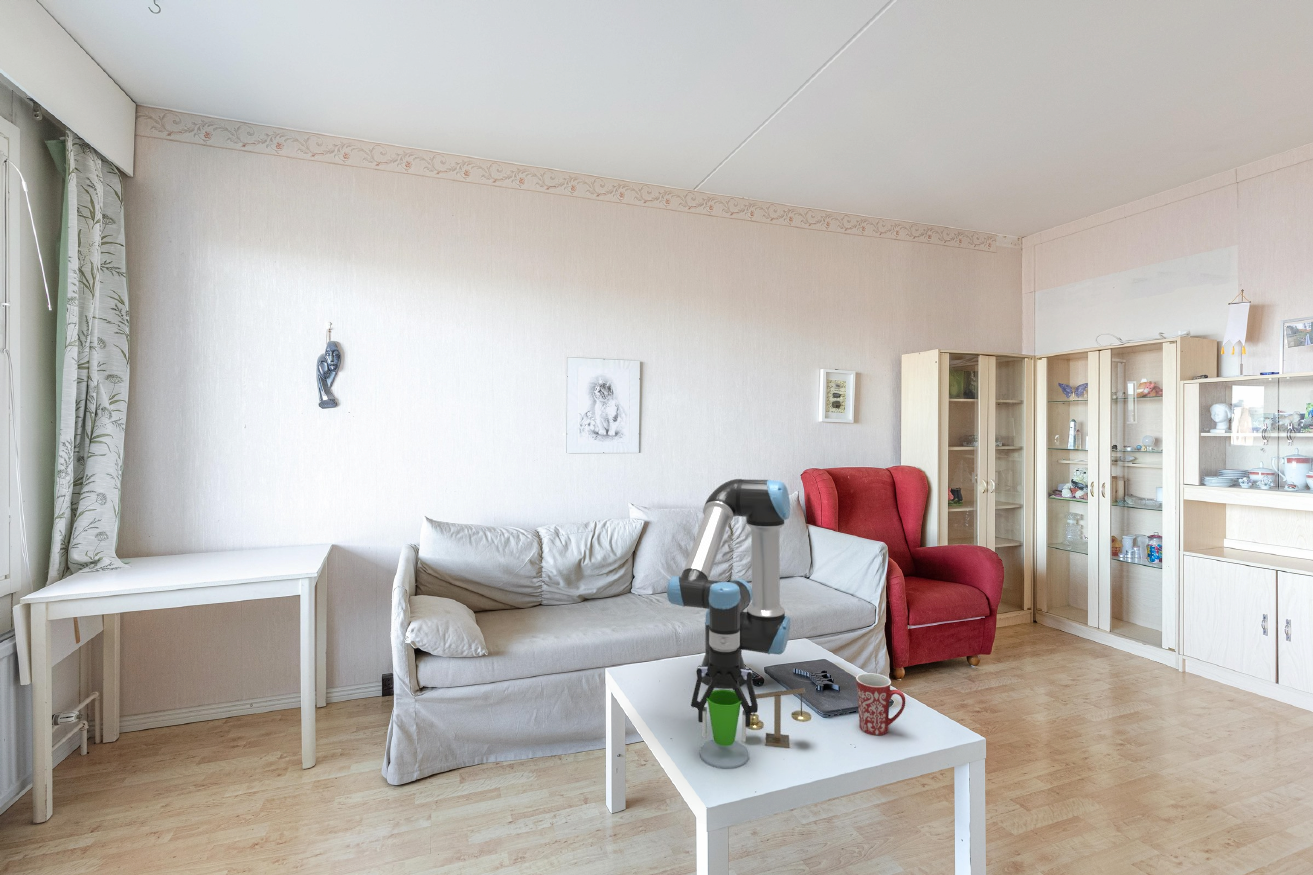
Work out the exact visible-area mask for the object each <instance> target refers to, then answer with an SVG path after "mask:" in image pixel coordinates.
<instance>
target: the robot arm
mask: <svg viewBox="0 0 1313 875" xmlns="http://www.w3.org/2000/svg"><path fill="white" fill-rule="evenodd" d="M708 496H709V497H708V498H706V501H705V504H704V506H703V508H702V513H703V518H702V521H701V523H700V526H699V528H698V531H697V533H696V535H695V539H694V541H693V543H692V547H691V549H690V552H689V554H688V557H687V560H686V563H685V565H684V568H683V571H682V573H681V575H680V576H679V575H677V576H672V577H671V578H669V581H668V583H667V588H666V597H667V600H668V602H669V603H670V604H672V605H675V606H679V607H680V606H681V607H689V608H690V607H691V608H697V609H698V608H700V609H706V611H705V622H704V629H705V630H704V632H705V634H704V635H705V636H704V637H705V639H704V640H705V642H704V643H705V645H704V647H705V653H704V657H703V660H702V662H701V665H698V666H697V668H696V671H695V672H696V683H695V686H694V691H693V695H692V698H691V702H690V707H691V708H696V709H697V711H698V712H697V713H698V714H697V715H698V716H697V721H698V723H701V724H702V738H704V739H705V738H706V737H707V733H708V731H707V730H708V727H707V726H708V722H707V721H708V717H707V714H708V713H707V710H708V708H707V707H708V706H706V704H707V703H708V701H707V699H706V698H708V699H709V697H710V695H711V693H712V691H714V690H715V688H723V689H729V688H731V689H732V691H735V693H736V695H737V697H738V699H739V701H742V702H741V705H740V706H741V707H742V715H741V716H742V718H741V726H742V728H741V730H742V731H741V734H742V735H741V739H742V740H741V742H746V736H747V734H746V732H747V728H746V727H750V715H751V714H753V713H755V714H758V710H759V705H758V701H757V700H758V699H756V696H755V694H756V692H755V688H754V683H753V679H752V678H753V669H751V668H749V669H747V668H746V667H747V666H746V664H745V661H744V659H743V655H742V651H748V652H755V653H762V654H767V655H782V654H783V653H784V652H785V650H786V648H787V645H788V640H789V638H790V637H789V636H790V631H791V630H790V629H791V618H790V617H789V616H788V615H786V611H785V608H784V607H783V606H782V605H781V604H780V602H781V601H780V596H781V595H780V587H781V586H780V584H781V583H780V574H781V573H780V570H781V569H780V563H781V562H780V554H781V553H780V530H781V529H782V527H784V525H785V521H786V520H788V519H789V518H790V516H791V501H790V495H789V491H788V488H787V486H786V484H785V483H784V482H783V481H781V480H772V479H746V478H745V479H742V478H735V479H730V480H728V481H725V482H724V483H722V484H720V486H718V487H716V488H715V489H714V491H712V493H711V494H709V495H708ZM735 517H740V518H741V517H742V518H744V517H745V518H746V522H745V523H746V525H747V526H748V527H749V528H750V529H751V536H750V538H751V585H750V584H749V583H748V582H747V581H746V580H743V579H741V578H739V579H738V578H737V579H733V580H730V581H722V580H711V579H710V577H711V574H712V572H713V567H714V565H715V562H716V559H717V556H718V553H719V550H720V548H721V545H722V541H723V539H724V536H725V533H726V530H727V528H728V525H729V524H731V523H732V522H733V519H734V518H735ZM750 603H751V604H750ZM745 610H746V611H745ZM702 683H704V684H706V685H708V686H707V688H706V689H705V692H704V693H703V695H702V697H701V698H700V701H699V700H698V698H699V693H700V689H701V685H702ZM744 684H746V688H747V692H748V696H749V701H748V699H747V697H746V696H745V694H744V691H743V689H742V687H741V686H743V685H744ZM749 702H750V704H751V705H750V704H749Z"/></svg>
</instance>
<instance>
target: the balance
mask: <svg viewBox="0 0 1313 875" xmlns="http://www.w3.org/2000/svg"><path fill="white" fill-rule="evenodd" d="M805 693H806V688H805V687H801V688H795V689H793V688H792V689H787V690H786V689H785V690H778V691H771V692H762V693H755V696H756V700H758V699H759V700H760V699H766V698H774V700H773V701H774V704H773V706H774V709H773V710H774V715H773V716H774V722H773V723H774V725H773V726H774V729H773V732H774V733H770V732H765V746H766V747H774V748H775V747H776V748H786V749H790V735H789V734H783V733H781V731H782V730H781V729H782V726H781V723H782V722H781V718H782V712H781V711H782V708H781V705H782V703H781V702H782V699H781V698H782V696H792V695H798V694H800V710H794V711H793V712H791V718H792V719H793V720H795V721H796V722H802V723H805V722H809V721H811V720H812V714H811V713H810V712H807V711H805V710H803V694H805ZM759 717H760V716H759V715H758V713H751V715H750V727H746V729H748V730H752V731H759V730H760V731H761V730H762V729H764V725H765V724H764V722H763V721H762V720H760V718H759Z"/></svg>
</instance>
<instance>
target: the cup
mask: <svg viewBox="0 0 1313 875" xmlns="http://www.w3.org/2000/svg"><path fill="white" fill-rule="evenodd" d="M706 699H707V705H708V706H707V707H708V712H709V717H710V724H711V732H712V740H714V741H715V743H716V744H718V745H721V746H729V745H732V744H733V743H734V741H736V735H737V730H738V723H739V716H740V711H741V706H742V705H741V702H742V701H739V699H738V697H737V695H736V693H735V691H734V690H733V689H732V690H731V689H726V688H723V689H713V691H712V693H711V695H710V697H709V699H708V698H706Z"/></svg>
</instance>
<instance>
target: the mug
mask: <svg viewBox="0 0 1313 875" xmlns="http://www.w3.org/2000/svg"><path fill="white" fill-rule="evenodd" d="M855 680H856V690H857V707H858V709H857V710H858V722H859V725H858V726H859V729H860V730H861V731H862V732H864V733H866V734H869V735H871V736H883V735H886V734H887V733H889V732H888V731H889V726H890V725H892V724H893V723H894V722H895V721H896V720H897V719H898V718H899V717H900V716H901V715H902V713H903V712H904V710H905V707H906V697H905V694H904V693H903V692H902V691H901V690H900V689H891V685H892V681H891V678H889V677H887V676H885V675H883V674H879V673H875V672H874V673H873V672H868V673H867V672H864V673H859V674H858V675H856V677H855ZM894 695H898V696H899V697H900V699H901V707H900V708H899V710H898V711H897V712H896V714H894V715H893V716H892V717H891V718H890V717H889V716H890V700H891V699H892V697H893V696H894Z"/></svg>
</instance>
